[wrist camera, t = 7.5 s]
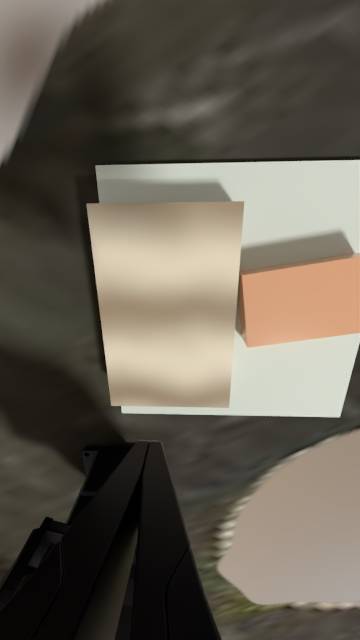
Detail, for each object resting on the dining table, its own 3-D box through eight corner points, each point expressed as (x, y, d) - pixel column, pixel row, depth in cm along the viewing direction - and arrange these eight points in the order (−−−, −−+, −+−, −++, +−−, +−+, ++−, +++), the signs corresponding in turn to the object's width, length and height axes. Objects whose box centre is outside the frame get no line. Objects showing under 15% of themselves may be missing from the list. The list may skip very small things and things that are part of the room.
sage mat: (336, 413, 20) (339, 417, 19) (123, 409, 20) (121, 413, 20) (401, 161, 14) (407, 158, 13) (97, 167, 15) (95, 165, 14)
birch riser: (224, 387, 19) (229, 407, 17) (120, 386, 20) (111, 405, 17) (235, 208, 15) (244, 201, 13) (102, 210, 15) (86, 203, 13)
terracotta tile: (349, 321, 17) (370, 331, 15) (241, 336, 17) (247, 347, 16) (354, 252, 15) (378, 253, 13) (235, 271, 16) (241, 275, 14)
